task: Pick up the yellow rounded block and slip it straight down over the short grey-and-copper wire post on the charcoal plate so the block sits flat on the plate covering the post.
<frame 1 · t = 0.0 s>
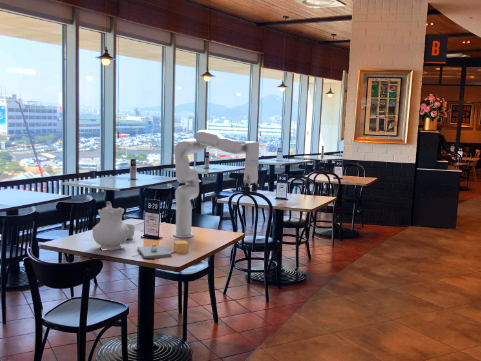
hand: (250, 192, 270), 31 cm above the table, tool pointing down, fingers open, 9 cm apart
yellow rounded block: (180, 251, 257), on the table
ceramic pitcher: (110, 247, 260), on the table
teacup: (122, 239, 280), on the table
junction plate: (153, 253, 251), on the table
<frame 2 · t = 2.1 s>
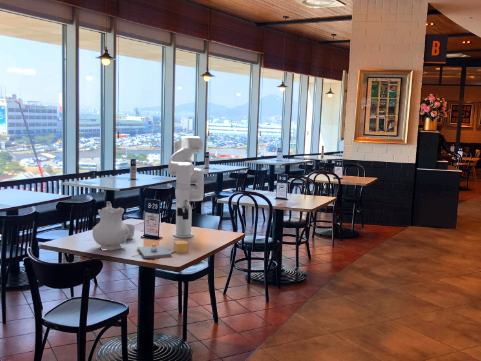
hand: (182, 217, 255), 19 cm above the table, tool pointing down, fingers open, 9 cm apart
nothing on the table moved.
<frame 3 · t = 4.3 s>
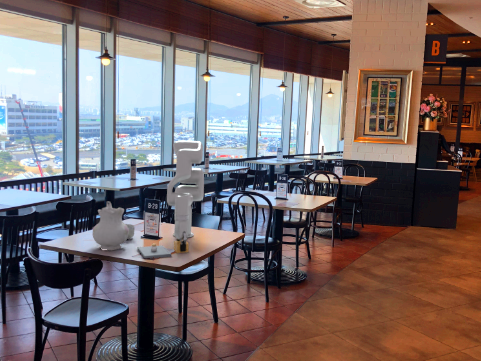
hand: (181, 249, 257), 1 cm above the table, tool pointing down, fingers closed on yellow rounded block, 6 cm apart
yellow rounded block: (181, 251, 257), on the table, touching gripper
everything else where it was.
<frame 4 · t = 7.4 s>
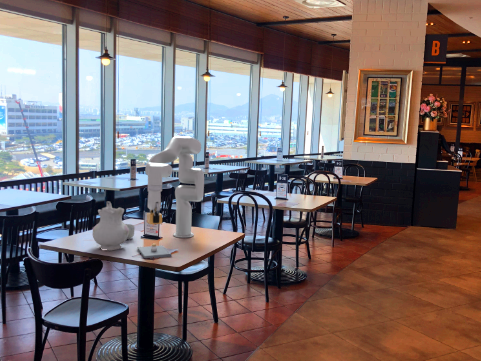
hand: (154, 221, 249), 17 cm above the table, tool pointing down, fingers closed on yellow rounded block, 6 cm apart
yellow rounded block: (154, 222, 249), point 17 cm above the table, touching gripper
everything else where it was.
when the fingers open (3 cm above the table, at t = 10.4 s): yellow rounded block stays where it is, resting on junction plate.
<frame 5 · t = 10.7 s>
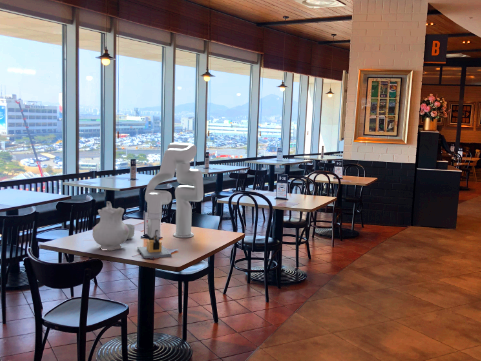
hand: (154, 247, 251), 3 cm above the table, tool pointing down, fingers open, 9 cm apart
yellow rounded block: (154, 250, 251), point 1 cm above the table, touching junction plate
everything else where it was.
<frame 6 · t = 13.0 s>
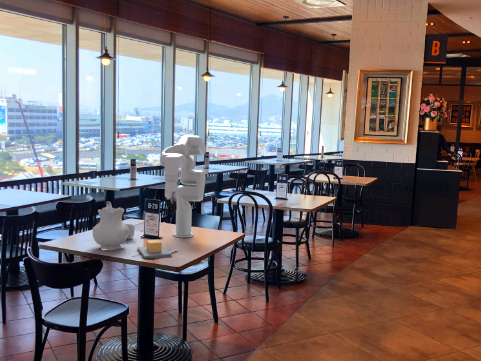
hand: (171, 208, 260), 22 cm above the table, tool pointing down, fingers open, 9 cm apart
nothing on the table moved.
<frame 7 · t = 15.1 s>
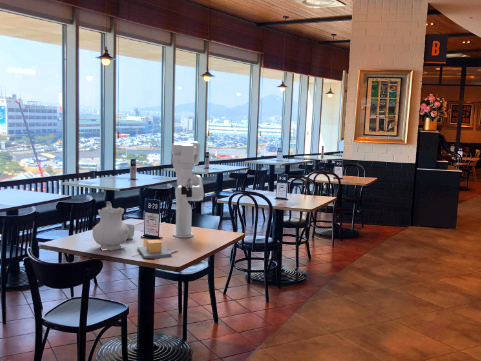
hand: (186, 195, 270), 28 cm above the table, tool pointing down, fingers open, 9 cm apart
nothing on the table moved.
at the end: yellow rounded block 0.1 cm from the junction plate (horizontally); yellow rounded block point 1.5 cm above the table; yellow rounded block tilted 0° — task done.
